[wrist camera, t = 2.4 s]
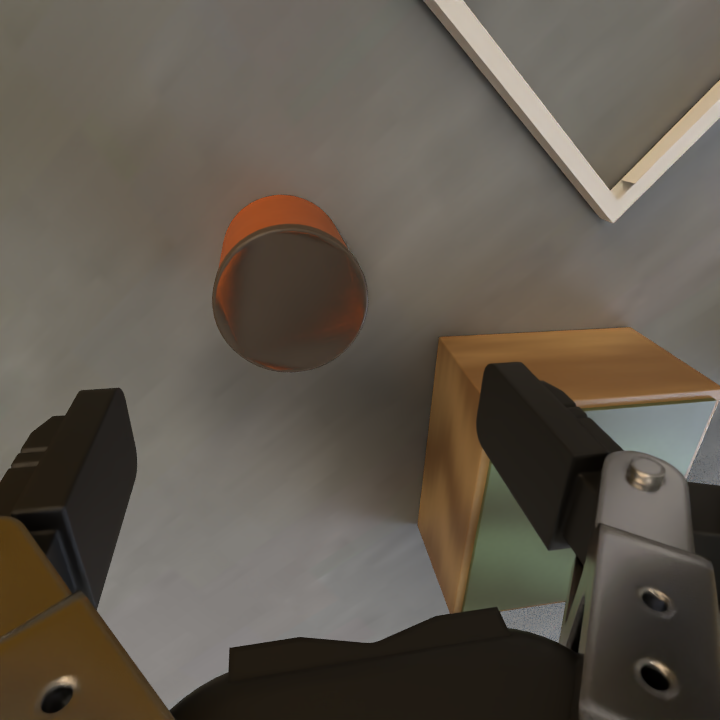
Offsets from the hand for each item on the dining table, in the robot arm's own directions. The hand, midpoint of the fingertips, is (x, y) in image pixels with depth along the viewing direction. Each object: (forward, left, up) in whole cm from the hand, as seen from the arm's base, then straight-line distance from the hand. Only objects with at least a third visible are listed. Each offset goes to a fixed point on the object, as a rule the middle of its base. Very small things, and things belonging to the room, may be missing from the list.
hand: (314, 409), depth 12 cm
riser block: (+10, +12, -11) cm, 19 cm away
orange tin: (0, 0, -11) cm, 11 cm away
